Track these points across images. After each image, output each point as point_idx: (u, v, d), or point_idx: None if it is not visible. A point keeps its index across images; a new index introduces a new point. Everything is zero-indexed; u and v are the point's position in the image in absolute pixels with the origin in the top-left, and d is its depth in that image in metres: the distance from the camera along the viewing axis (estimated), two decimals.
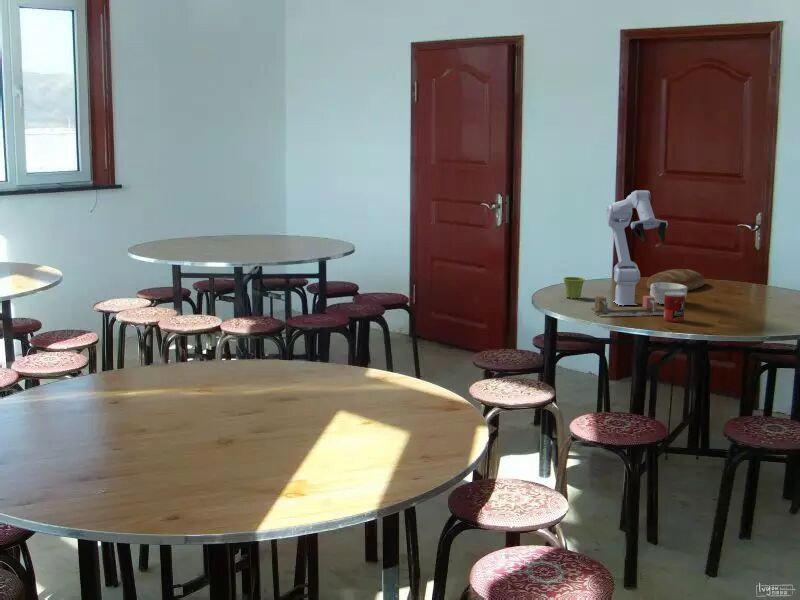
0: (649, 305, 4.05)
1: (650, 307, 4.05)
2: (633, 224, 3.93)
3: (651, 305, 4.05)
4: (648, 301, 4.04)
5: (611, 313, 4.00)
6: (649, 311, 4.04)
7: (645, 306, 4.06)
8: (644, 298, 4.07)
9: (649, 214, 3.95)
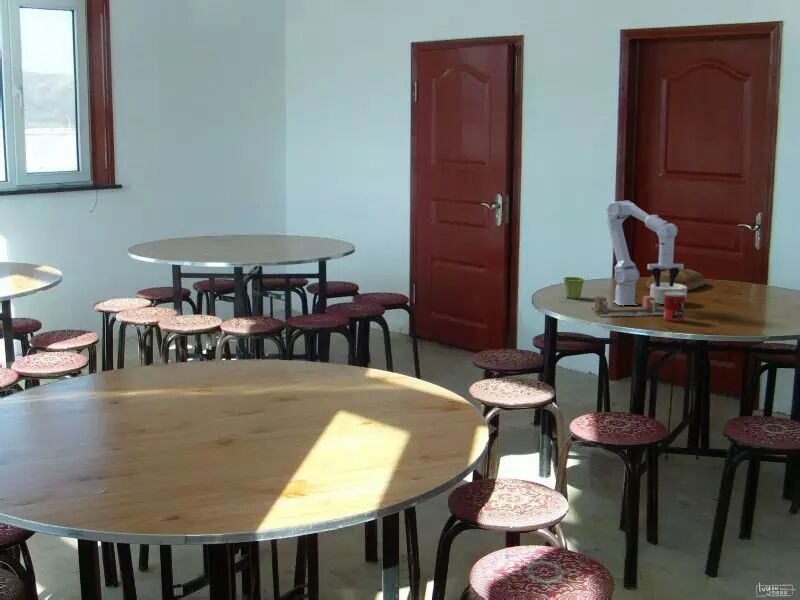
0: (649, 305, 4.05)
1: (650, 307, 4.05)
2: (650, 268, 4.03)
3: (651, 305, 4.05)
4: (648, 301, 4.04)
5: (611, 313, 4.00)
6: (649, 311, 4.04)
7: (645, 306, 4.06)
8: (644, 298, 4.07)
9: (668, 260, 4.02)
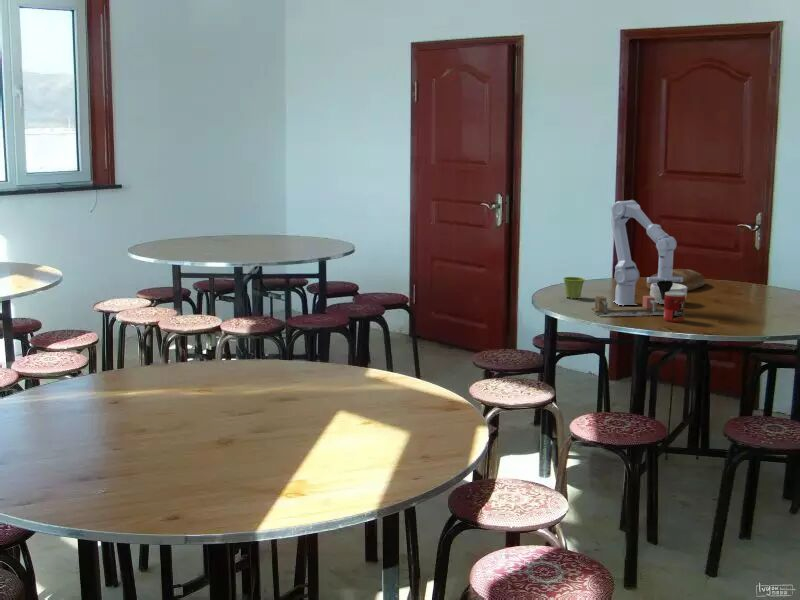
0: (649, 305, 4.05)
1: (650, 307, 4.05)
2: (649, 281, 4.04)
3: (651, 305, 4.05)
4: (648, 301, 4.04)
5: (611, 313, 4.00)
6: (649, 311, 4.04)
7: (645, 306, 4.06)
8: (644, 298, 4.07)
9: (667, 273, 4.03)
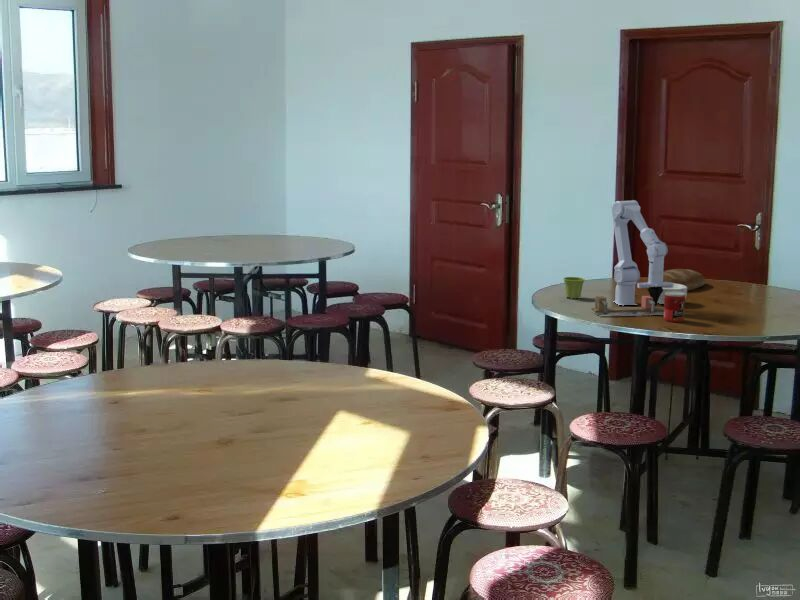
0: (648, 305, 4.05)
1: (649, 307, 4.05)
2: (640, 286, 4.04)
3: (650, 305, 4.05)
4: (647, 301, 4.04)
5: (611, 313, 4.00)
6: (649, 311, 4.04)
7: (644, 306, 4.06)
8: (643, 298, 4.07)
9: (658, 279, 4.03)
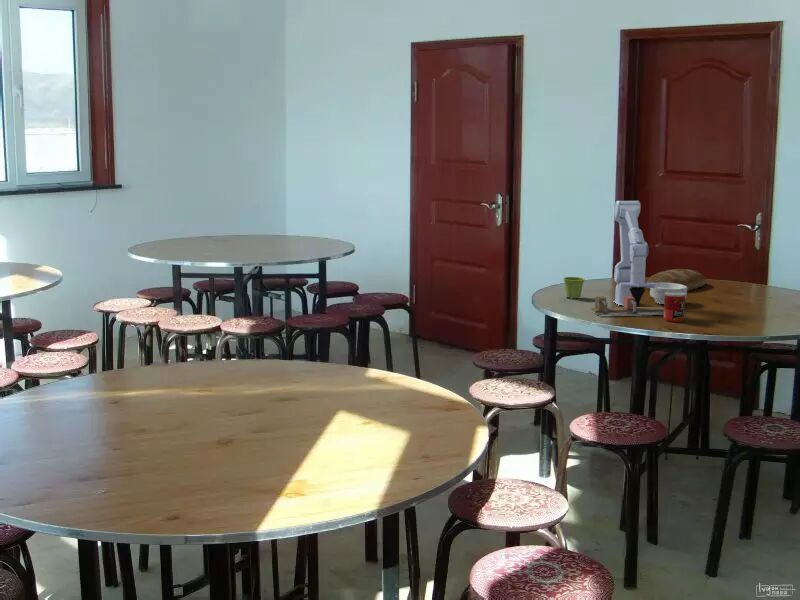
0: (630, 305, 4.04)
1: (631, 307, 4.04)
2: (621, 287, 4.04)
3: (632, 305, 4.04)
4: (629, 301, 4.04)
5: (611, 313, 4.00)
6: (649, 311, 4.04)
7: (626, 306, 4.05)
8: (625, 298, 4.06)
9: (640, 279, 4.02)
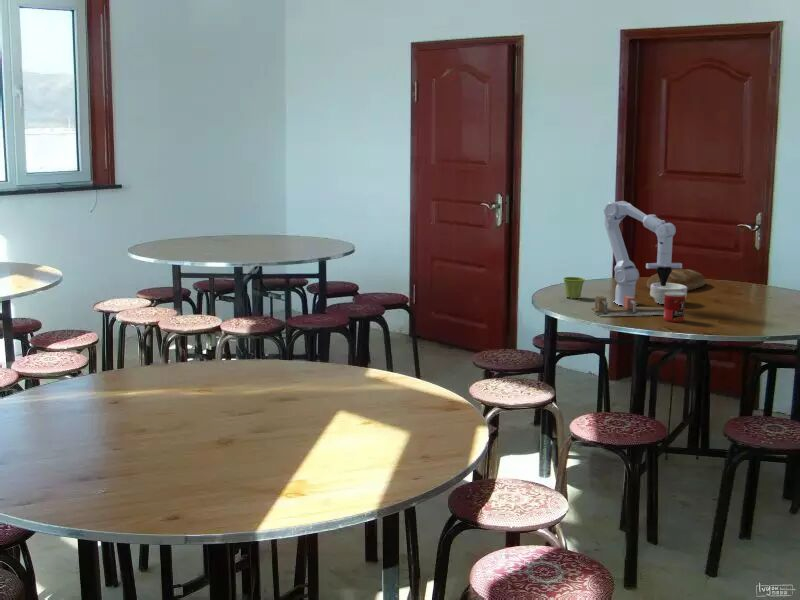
0: (630, 305, 4.04)
1: (631, 307, 4.04)
2: (648, 267, 4.05)
3: (632, 305, 4.04)
4: (629, 301, 4.04)
5: (611, 313, 4.00)
6: (649, 311, 4.04)
7: (626, 306, 4.05)
8: (625, 298, 4.06)
9: (667, 259, 4.03)
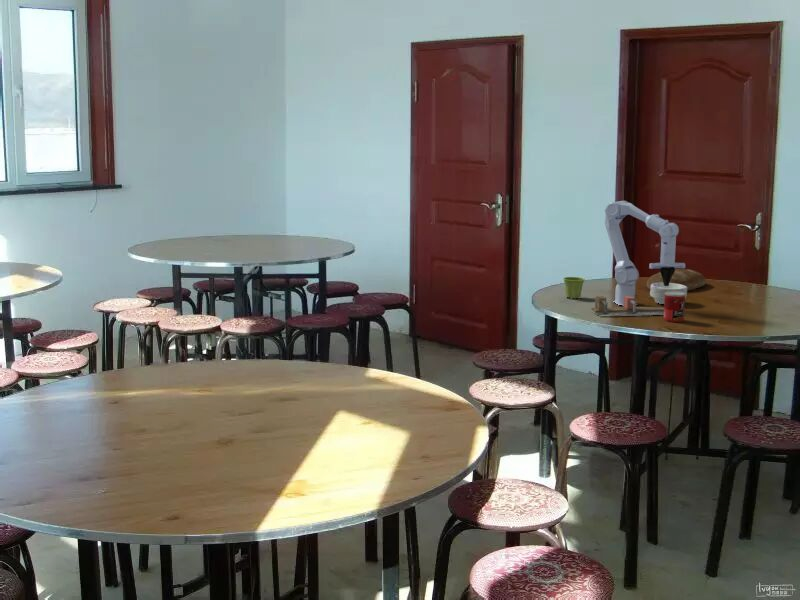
0: (630, 305, 4.04)
1: (631, 307, 4.04)
2: (652, 267, 4.06)
3: (632, 305, 4.04)
4: (629, 301, 4.04)
5: (611, 313, 4.00)
6: (649, 311, 4.04)
7: (626, 306, 4.05)
8: (625, 298, 4.06)
9: (670, 259, 4.04)
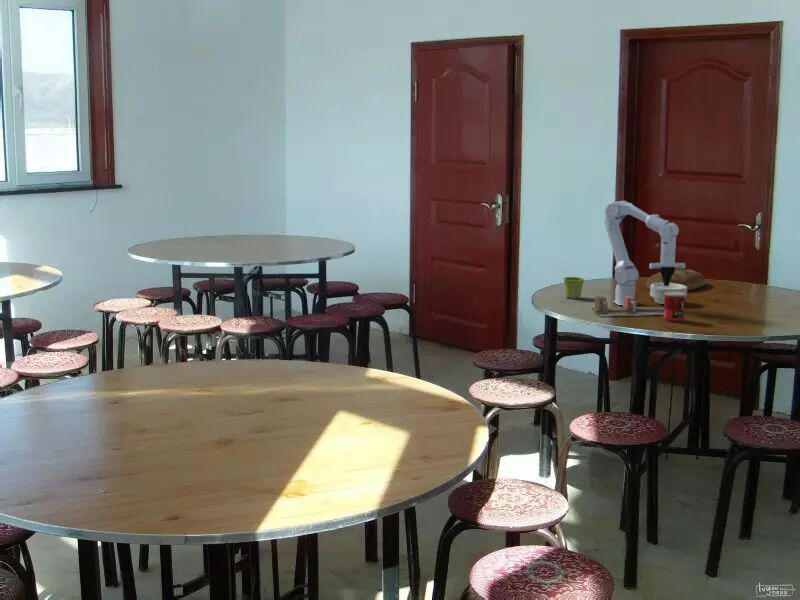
0: (630, 305, 4.04)
1: (631, 307, 4.04)
2: (652, 267, 4.06)
3: (632, 305, 4.04)
4: (629, 301, 4.04)
5: (611, 313, 4.00)
6: (649, 311, 4.04)
7: (626, 306, 4.05)
8: (625, 298, 4.06)
9: (670, 259, 4.04)
